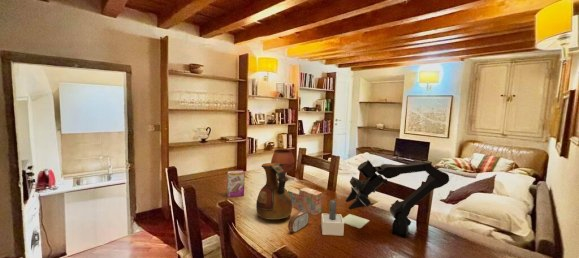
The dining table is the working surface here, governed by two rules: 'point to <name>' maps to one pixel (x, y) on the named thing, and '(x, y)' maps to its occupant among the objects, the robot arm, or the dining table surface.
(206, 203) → the dining table surface
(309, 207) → the stack of blocks
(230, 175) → the candy bar box
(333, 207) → the lid
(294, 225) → the tin
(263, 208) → the ceramic pitcher
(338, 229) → the box
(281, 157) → the brown clay pot
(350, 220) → the mat
